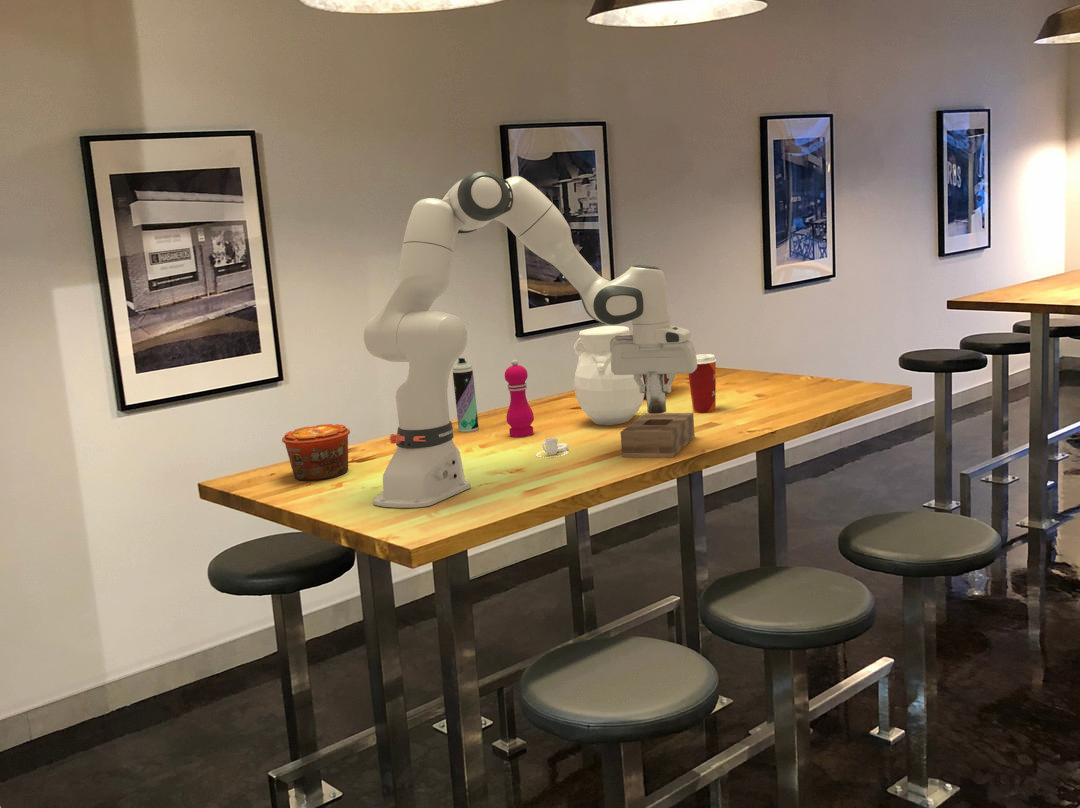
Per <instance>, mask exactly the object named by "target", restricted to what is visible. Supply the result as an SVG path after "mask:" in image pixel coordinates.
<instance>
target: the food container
mask: <svg viewBox="0 0 1080 808" xmlns="http://www.w3.org/2000/svg"><path fill="white" fill-rule="evenodd" d="M350 434H351V430H350V429H349V428H347V427H346V425H345V424H340V423H339V424H332V423H330V424H329V423H327V424H325V423H324V424H323V423H322V424H317V425H314V426H313V425H312V426H304V427H300V428H296V429H294V430H293V431H292V430H291V431H290V430H289V431H288V432H286V433H285V434H284V436H283V437H281V438H282V439H281V442H282V443H284V445H285V449H286V452H287V453H286V454H287V456H288V459H289V463H290V465H291V466H290V467H291V470H292V473H293V476H294V477H293V478H294V479H295V480H297V481H300V482H302V481H304V482H306V481H307V482H310V481H312V482H314V481H320V480H321V481H322V480H328V479H332V478H336V477H339V476H342V475H343V474H345V473H347V472H348V470H349V435H350Z"/></svg>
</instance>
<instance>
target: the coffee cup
mask: <svg viewBox="0 0 1080 808" xmlns="http://www.w3.org/2000/svg"><path fill="white" fill-rule="evenodd" d="M696 358H697V368H696V370H695V371H694V372H693V373H687V374H688V380H689V389H690V396H691V397H690V398H691V405H692V406H691V407H692V411H693V412H692V413H696V414H707V413H709V414H710V413H713V412H715V411H716V404H717V403H716V399H717V398H716V397H717V395H716V392H717V391H716V386H717V385H716V384H717V383H716V375H717V374H716V369H717V366H716V365H717V364H716V362H717V361H718V360H717V359H716V356H715V354H712V353H702V354H701V353H700V354H696Z"/></svg>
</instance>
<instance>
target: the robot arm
mask: <svg viewBox="0 0 1080 808" xmlns="http://www.w3.org/2000/svg"><path fill="white" fill-rule="evenodd" d="M491 221H497V222H500V223H502V224H503V225H504V226H506V227H507V228H508V229H509V230H510V231H511V232H512V234H513V235H514V236H515V237H516V238H517V239H518V240H519V241H520V242H521V243H522V244H523V245H524V246H525V247H526V248H528V249H529V251H531V252H532V253H533V254H535V255H536V256H537V257H539V258H541V259H542V260H545V262H548V263H549V264H551V265H552V266H554V267H555V268H556V269H557V270H558V271H559V273H560V274H561V275H562V276H563V277H564V278H565V279H566V280H567V281H568V283H570V285H572V287H573V288H574V289H575V291H577V293H578V295H579V297H580V300H581V303H582V307H583V308H584V311H585V312H586V314H587V315H588V316H589V317H590V318H591V319H593V320H595V321H597V322H601V323H603V324H605V325H607V326H619V325H621V324H623V323H626V322H631V334H630V335H625V336H615V337H614V338H612V339H611V341H610V351H611V353H612V356H611V371H612V372H613V374H614V375H634V380H635V381H636V383H637V384H638V386H639V391H640V393H646V385H644V384H643V382H642V380H641V379H640V378H641V377H642V374H647V371H657V373H658V374H667V378H669V381H668V383H667V384H665V385H663V389H664V390H663V392H664V393H665V394H670V393H671V392H672V384H673V382H674V380H675V378H676V374H677V375H678V374H680V375H681V374H682V375H683V374H688V373H693V372H694V371H695V370H696V368H697V358H696V355H697V353H696V347H695V346H694V344H693V342H692V341H691V340H689V339H690V338H691V331H690V330H689V329H687V328H683V327H680V326H677V325H674V324H673V325H672V324H670V317H669V314H668V305H669V294H668V287H667V282H666V276H665V273H664V271H663V270H662V269H661V268H659V267H657V266H654V265H653V266H652V265H643V264H634V265H632V266H630V267H629V269H628V270H626V271H625V272H624V273H622V274H621V275H619V276H618V277H616V278H614V279H612V280H610V279H608V278H605V277H603V276H601V275H600V274H598V273H597V271H595V269H594V268H593V267H592V266H591V264H590V263H588V261H587V260H586V259H585V257H583V256H582V254H581V253H580V252H579V251H578V249H577V248H576V246H575V244H574V243H573V238H572V237H573V236H572V231H571V227H570V225H569V224H568V223H569V222H567V220H566V219H565V217H564V215H563V214H562V213H561V211H560V210H559V209H558V208H557V206H556V205H555V204H554V203H553V202H552V201H551V200H550V199H549V198H548V197H547V196H546V195H545V194H544V193H543V192H542V191H541V190H540V189H538V188H537V187H536V186H535V185H534V184H533V183H531V182H529V181H528V180H527V179H526V178H524V177H522V176H520V175H519V176H518V175H516V176H515V175H514V176H510V177H508V178H506V179H504V178H501V177H498V175H495V174H493V173H491V172H488V171H475V172H472V173H469V174H467V175H466V176H464V178H463V179H461V180H458V181H456V182H455V183H454V185H452V186H451V188H450V189H449V190H448V191H446V193H445V194H444V195H443V196H442V197H441V199H440V198H433V197H428V198H422V199H419V200H418V201H417V202H416V203H415V204H414V205H413V207H412V210H411V212H410V214H409V218H408V221H407V224H406V227H405V232H404V236H403V241H402V242H403V243H402V246H401V247H402V248H401V253H400V260H399V265H398V270H397V276H396V278H395V281H394V284H393V286H392V289H391V291H390V294H389V295H388V298H387V299H386V301H385V302H384V304H383V306H382V307H381V308H380V309H379V310H378V312H377V313H375V315H374V316H371V318H370V319H369V320H368V321H367V322H366V324H365V327H364V331H363V341H364V345H365V348H366V350H367V352H369V353H370V355H371V356H373V357H375V358H378V359H381V360H385V361H387V362H392V363H393V362H394V363H396V362H397V363H398V362H399V363H409V368H408V369H409V370H408V375H407V379H406V381H405V382H403V383H402V384H401V385H400V386H399V387H398V388H397V390H396V392H395V402H396V410H397V419H398V420H397V421H398V427H397V432H396V434H394V433H391V434H390V435H389V442H390V444H392V445H394V444H396V449H395V452H394V453H393V455H392V457H391V459H390V461H389V463H388V464H387V467H386V468H385V470H384V472H383V476H382V486H383V487H382V488H383V489H382V490H383V491H382V492H381V493H380V494H379V495H377V496H375V497H374V499H373V500H372V501H373V505H374V506H378V507H385V508H399V509H400V508H401V509H403V508H406V509H407V508H410V509H411V508H422V507H429V506H432V505H435V504H437V503H440V502H441V501H443V500H446V499H448V498H451V497H452V496H455V495H457V494H459V493H461V492H463V491H467V490H468V489H470V488H471V487H472V486H471V482H470V481H468V480H466V478H465V477H466V476H465V472H464V466H463V462H462V457H461V452H460V450H459V448H458V447H457V446H456V444H455V443H454V440H453V439H454V427H453V422H452V421H451V419H450V411H449V399H448V387H449V386H448V385H449V379H450V374H451V370H453V367H454V364H455V363H456V361H457V360H458V358H461V356H462V354H463V353H464V351H465V349H466V347H467V343H468V332H467V328H466V325H465V323H464V322H463V320H462V319H461V318H460V317H459V316H457V315H455V314H452V313H450V312H449V313H448V312H444V311H440V310H430V309H431V306H432V305H433V303H434V302H435V301H436V300H437V299H438V298H439V297H440V296H441V295H443V294H444V293H445V292H446V291H447V289H448V287H449V285H450V284H449V283H450V277H451V271H452V265H453V257H454V253H455V250H454V249H455V241H456V238H457V235H458V234H468V233H469V234H470V233H472V232H474V231H477V230H478V229H480V228H483V227H485V226H486V225H488V224H490V223H491ZM614 339H615V340H614Z"/></svg>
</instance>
